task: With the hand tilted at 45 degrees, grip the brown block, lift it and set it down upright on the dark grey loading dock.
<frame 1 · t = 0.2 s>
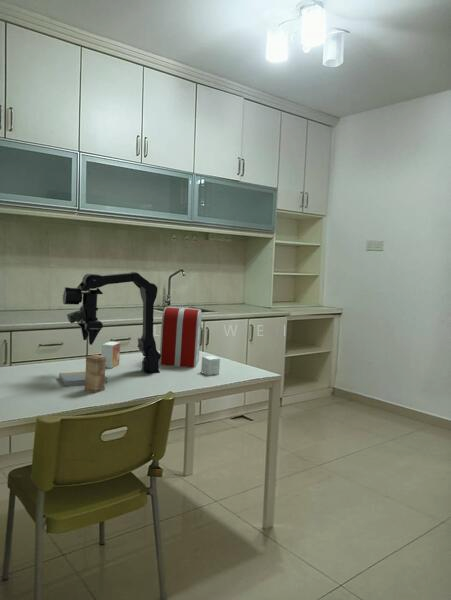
hand: (87, 342, 188), 14 cm above the table, tool pointing down, fingers open, 9 cm apart
small box: (110, 366, 209), on the table
brown block: (94, 390, 173), on the table
dock: (82, 380, 184), on the table
product box: (210, 373, 209), on the table
red striped box: (179, 362, 225), on the table
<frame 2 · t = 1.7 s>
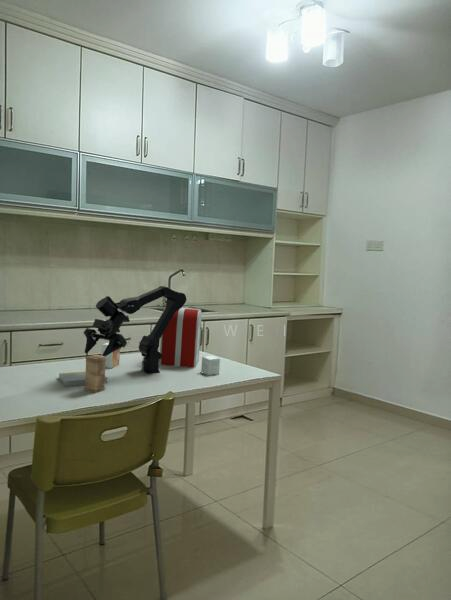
hand: (94, 354, 180), 11 cm above the table, tool tilted 45°, fingers open, 9 cm apart
nothing on the table moved.
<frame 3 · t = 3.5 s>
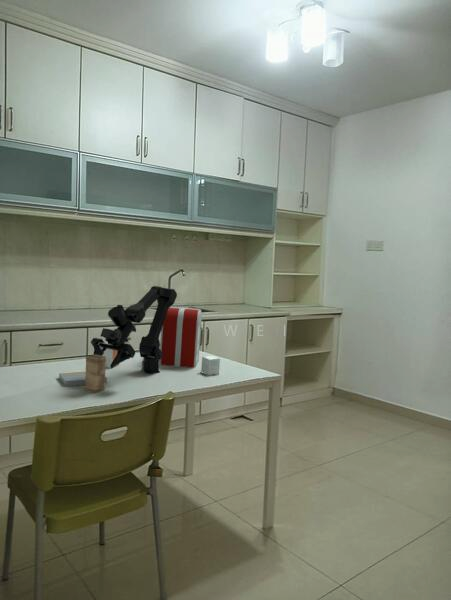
hand: (101, 365, 175), 9 cm above the table, tool tilted 45°, fingers open, 9 cm apart
nothing on the table moved.
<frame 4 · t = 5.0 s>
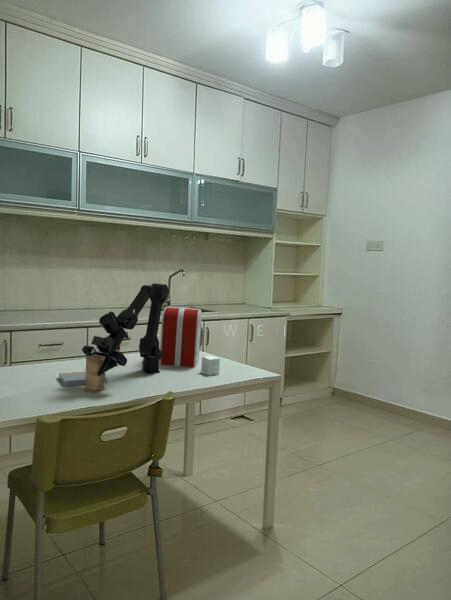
hand: (92, 373, 171), 7 cm above the table, tool tilted 45°, fingers closed on brown block, 5 cm apart
brown block: (94, 390, 173), on the table, touching gripper
everything else where it was.
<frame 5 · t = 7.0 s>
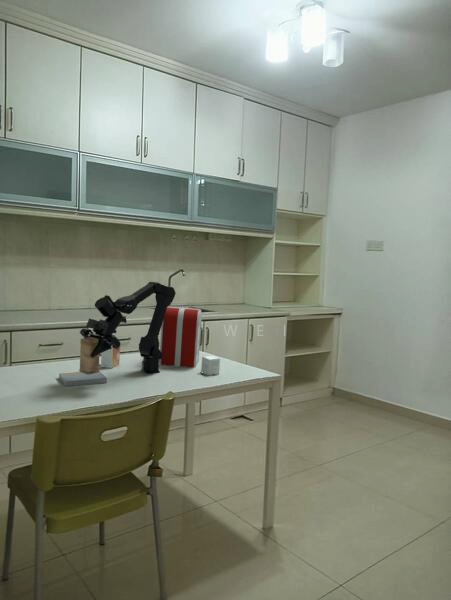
hand: (86, 355, 174), 12 cm above the table, tool tilted 45°, fingers closed on brown block, 5 cm apart
brown block: (89, 372, 176), point 6 cm above the table, touching gripper
everything else where it was.
when the fingers open (9 cm above the table, at t = 9.1 s): brown block stays where it is, resting on dock.
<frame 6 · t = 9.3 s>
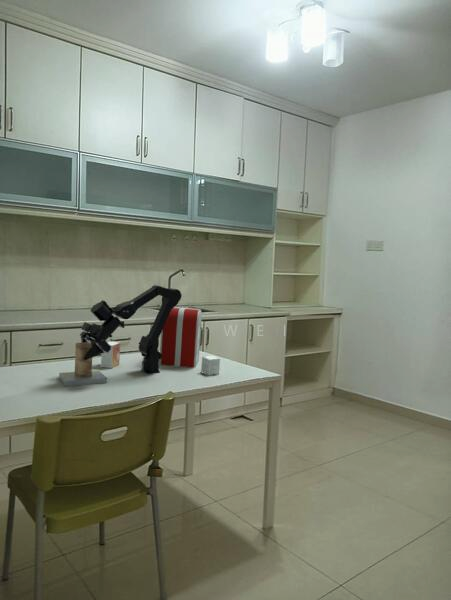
hand: (80, 357, 182), 10 cm above the table, tool tilted 45°, fingers open, 7 cm apart
brown block: (83, 375, 184), point 2 cm above the table, touching dock
everything else where it was.
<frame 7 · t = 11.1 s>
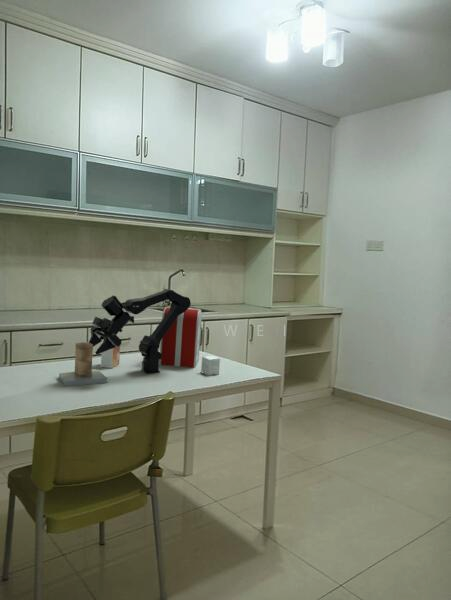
hand: (91, 351, 185), 12 cm above the table, tool tilted 45°, fingers open, 9 cm apart
nothing on the table moved.
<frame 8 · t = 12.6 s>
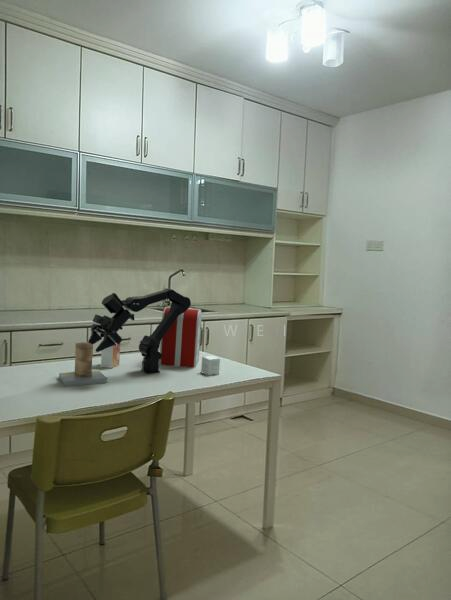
hand: (91, 349, 185), 13 cm above the table, tool tilted 45°, fingers open, 9 cm apart
nothing on the table moved.
at the end: brown block inside the target area on the dock (0.1 cm from its centre), point 2.0 cm above the dock's base; brown block tilted 0°; the gripper is holding nothing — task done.
